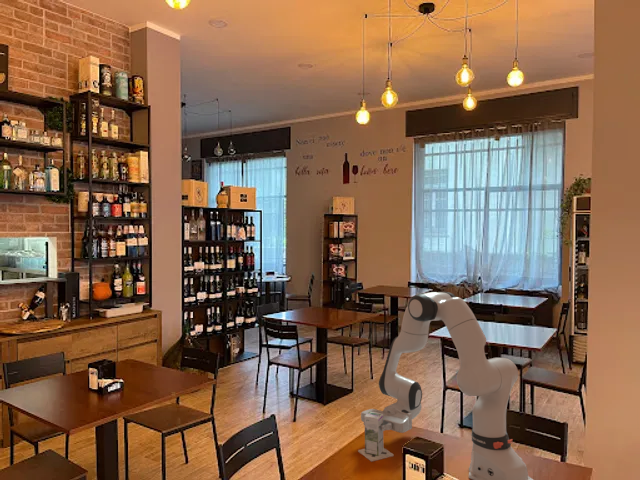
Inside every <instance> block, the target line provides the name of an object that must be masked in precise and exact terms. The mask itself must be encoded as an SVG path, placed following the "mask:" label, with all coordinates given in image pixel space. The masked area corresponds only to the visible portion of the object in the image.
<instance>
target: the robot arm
mask: <svg viewBox="0 0 640 480" xmlns="http://www.w3.org/2000/svg"><path fill="white" fill-rule="evenodd" d="M432 321H434V322H435V321H442V322H443V323H444V325H445V328H446V329H447V332H448V334H449V336H450V338H451V340H452V342H453V344H454V346H455V348H456V351H457V355H458V360H459V369H458V372H457V373H456V383H457V386H458V388H459V390H460V391H461V392H462V393H463V394H464V395H465V396H468V397H477V400H476V401H475V402H474V403H473V406H472V412H471V413H472V414H471V415H472V428H471V434H470V435H471V441H472V446H471V447H472V449H471V456H470V457H471V458H470V464H469V467H468V471H469V472H468V478H469V479H471V480H534V479H533V478H532V477H531V476H529V472H528V467H527V464H526V463H525V462H524V459H523V457H520V456H519V454H518V453H517V452H516V451H515V449H514V448H513V447H512V446H511V443H513V438H511V439H510V438H509V435H508V432H507V407H508V403H509V399H510V396H511V395H510V394H511V392H512V389H513V387H514V385H515V384H516V382H517V380H518V378H519V371H518V370H519V369H518V367H517V366H516V364H515V362H514V361H512V360H511V359H509V358H507V357H493V358H489V359H487V357H486V353H485V346H486V344H487V337H486V335H485V333H484V332H483V330H482V328H481V326H480V323H479V321H478V320H477V318H476V316H475V314H474V312H473V310H472V309H471V308H470V307H469V305H468V304H467V302H466V301H465V300H464V299H463V298H461V297H458V296H455V294H454V293H452V292H448V291H438V292H437V291H431V292H430V291H429V292H424V293H418V294H415V295H414V296H412V297H411V298H410V299H409V300H408V304H407V306H406V308H405V311H404V313H403V317H402V321H401V328H400V332H399V334H398V336H395V338H393V340H392V341H391V345H390V347H389V349H388V350H389V351H388V353H387V357H386V361H385V364H384V368H383V371H382V373H381V375H380V378H379V379H378V387H379V390H380V392H381V394H383V395H384V396H388V397H391V398H394V399H396V402H393V403H391V404H389V405H387V406H385V407H384V408H383V410H380V409H377V408H369V409H366V410H363V411H361V413H360V420H361V422H363V426H365V420H364V417H365V415H366V414H367V413H368V412H375V413H381V414H383V424H382V425H380V430H381V431H383V432H385V431H394V432H397V433H402V434H403V433H406V432H407V431H410V430H412V429H413V420H414V419H415V418H416V417H417V416H418V415H420V413H421V411H422V399H423V390H422V387H421V386H422V385H421V384H420V383H419V382H417V381H416V380H414V379H411V378H409V377H406V376H403V375H401V374H399V373H398V372H397V368H398V365H399V362H400V359H401V356H402V354H405V353H406V354H408V353H415V352H419V351H421V350H422V349H424V348H425V347H426V345H427V343H428V340H429V332H430V323H431V322H432Z"/></svg>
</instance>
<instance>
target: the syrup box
mask: <svg viewBox="0 0 640 480" xmlns="http://www.w3.org/2000/svg"><path fill="white" fill-rule="evenodd" d="M364 420H365V425H364V449H365V453H368V454H372V455H377V456H379V455H380V454H381V453H382V452H383V450H384V431H381V430H380V425H382V424H383V414H381V413H375V412H368V413H367V414H366V415H365V417H364Z"/></svg>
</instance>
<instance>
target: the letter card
mask: <svg viewBox="0 0 640 480" xmlns="http://www.w3.org/2000/svg"><path fill="white" fill-rule="evenodd" d="M357 452H358V453H359V454H360V455H362V456H364V457H365V458H366V459H367V460H369V461H370V462H371V463H372V462H376V461H379V460H383V459H388V458H392V457H394V456H395V455H394V453H392V452H390V451H389V450H388V449H387V448H386V447H385V448H384V450H383V452H382V453H381V454H380V455H379V456H377V455H372V454H368V453H365V448H362V449H358V450H357Z"/></svg>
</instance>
